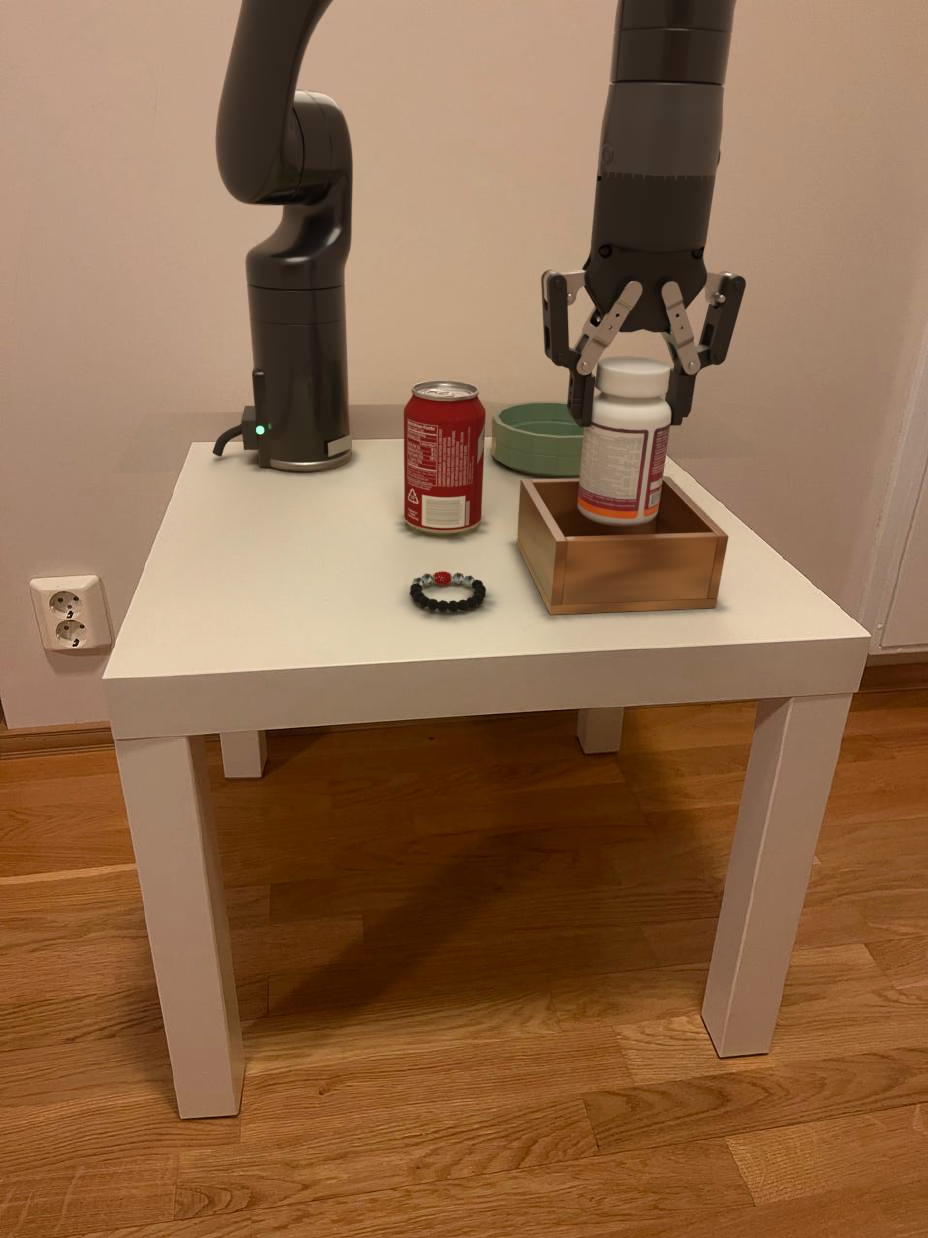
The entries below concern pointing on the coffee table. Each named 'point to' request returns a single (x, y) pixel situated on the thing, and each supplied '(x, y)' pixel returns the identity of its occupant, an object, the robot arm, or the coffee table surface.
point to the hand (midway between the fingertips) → (626, 422)
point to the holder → (618, 553)
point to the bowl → (538, 439)
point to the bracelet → (447, 578)
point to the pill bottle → (625, 442)
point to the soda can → (443, 457)
